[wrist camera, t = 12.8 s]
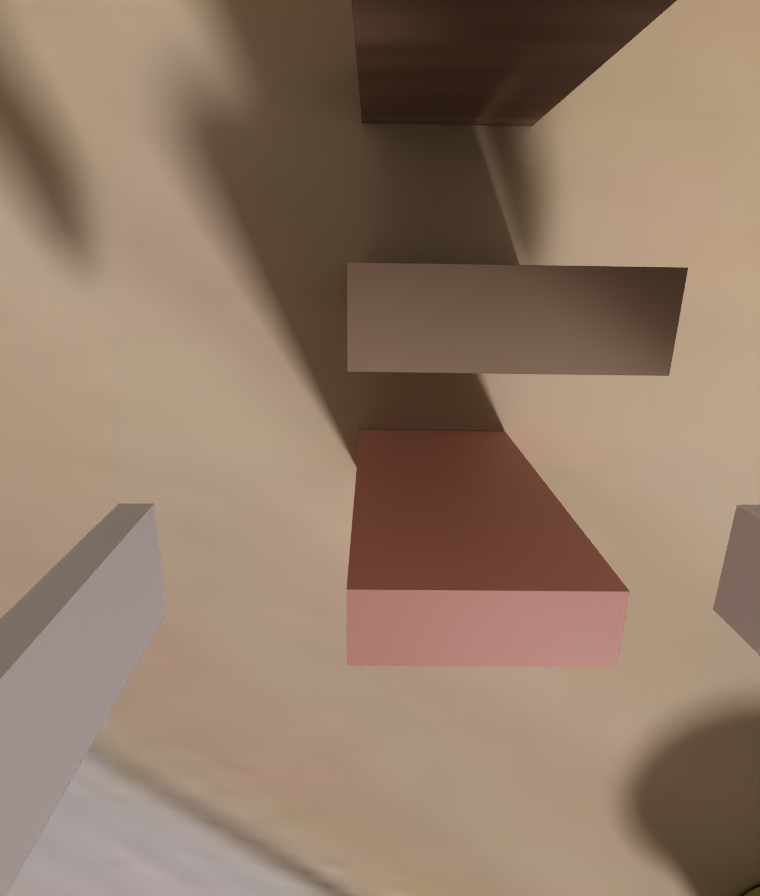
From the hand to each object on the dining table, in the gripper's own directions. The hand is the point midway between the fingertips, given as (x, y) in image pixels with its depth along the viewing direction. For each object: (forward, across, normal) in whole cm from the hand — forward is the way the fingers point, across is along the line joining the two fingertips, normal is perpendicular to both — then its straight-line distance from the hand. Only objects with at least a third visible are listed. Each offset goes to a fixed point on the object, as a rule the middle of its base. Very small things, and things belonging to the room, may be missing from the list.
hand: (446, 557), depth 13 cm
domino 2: (+7, 0, +6) cm, 9 cm away
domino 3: (+7, 0, 0) cm, 7 cm away
